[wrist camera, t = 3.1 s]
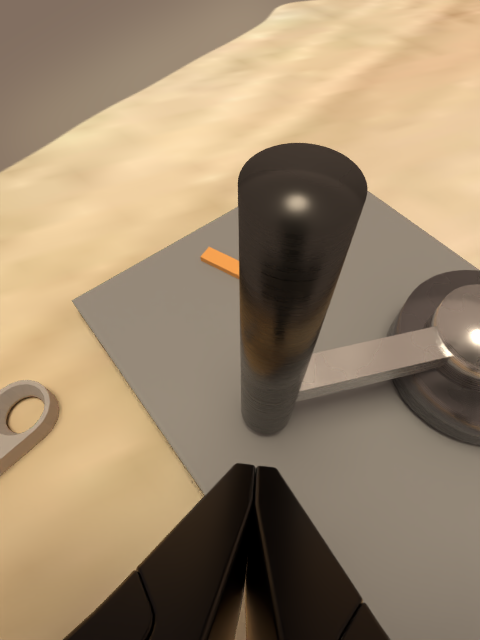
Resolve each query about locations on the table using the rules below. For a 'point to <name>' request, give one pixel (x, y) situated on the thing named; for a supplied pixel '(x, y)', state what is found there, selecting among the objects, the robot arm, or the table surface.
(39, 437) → the adjustable wrench
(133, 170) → the table surface
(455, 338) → the crank handle
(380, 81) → the table surface
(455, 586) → the level stand
